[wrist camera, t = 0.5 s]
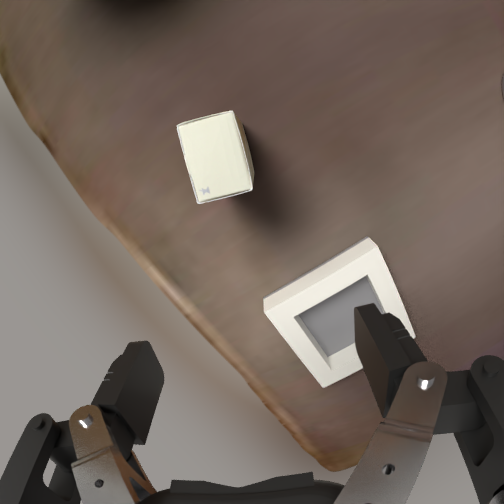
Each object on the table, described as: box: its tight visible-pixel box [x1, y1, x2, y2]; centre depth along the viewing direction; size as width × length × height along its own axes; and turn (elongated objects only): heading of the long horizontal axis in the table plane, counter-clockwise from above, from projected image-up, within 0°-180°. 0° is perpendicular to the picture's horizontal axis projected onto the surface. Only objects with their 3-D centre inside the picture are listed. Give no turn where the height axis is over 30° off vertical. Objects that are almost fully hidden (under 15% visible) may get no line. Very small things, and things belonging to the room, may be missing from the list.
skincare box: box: [177, 111, 254, 204], centre depth 26 cm, size 6×4×12 cm
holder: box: [263, 236, 415, 388], centre depth 38 cm, size 15×16×4 cm
